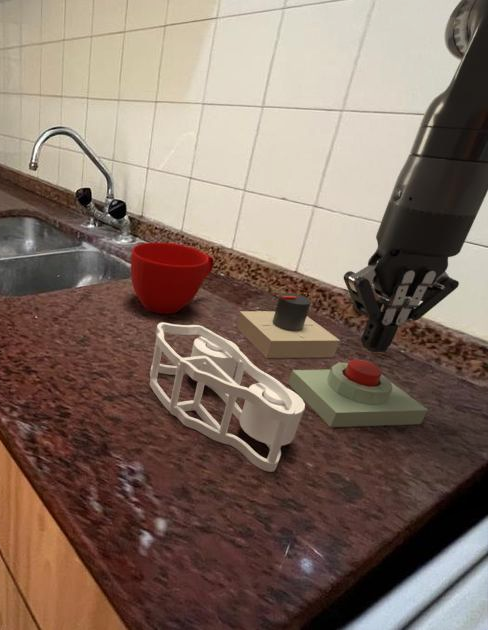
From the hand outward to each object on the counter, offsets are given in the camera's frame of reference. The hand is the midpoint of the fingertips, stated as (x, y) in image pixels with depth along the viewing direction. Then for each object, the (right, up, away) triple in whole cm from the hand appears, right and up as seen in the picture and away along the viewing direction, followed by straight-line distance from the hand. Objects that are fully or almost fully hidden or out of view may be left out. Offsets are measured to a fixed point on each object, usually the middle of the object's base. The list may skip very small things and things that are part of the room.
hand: (373, 348), depth 54 cm
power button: (0, -4, +2) cm, 4 cm away
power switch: (-1, -7, +4) cm, 8 cm away
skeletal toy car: (-19, -8, 0) cm, 21 cm away
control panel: (-2, 0, +18) cm, 18 cm away
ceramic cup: (-18, +6, +28) cm, 34 cm away
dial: (-2, +3, +16) cm, 17 cm away
